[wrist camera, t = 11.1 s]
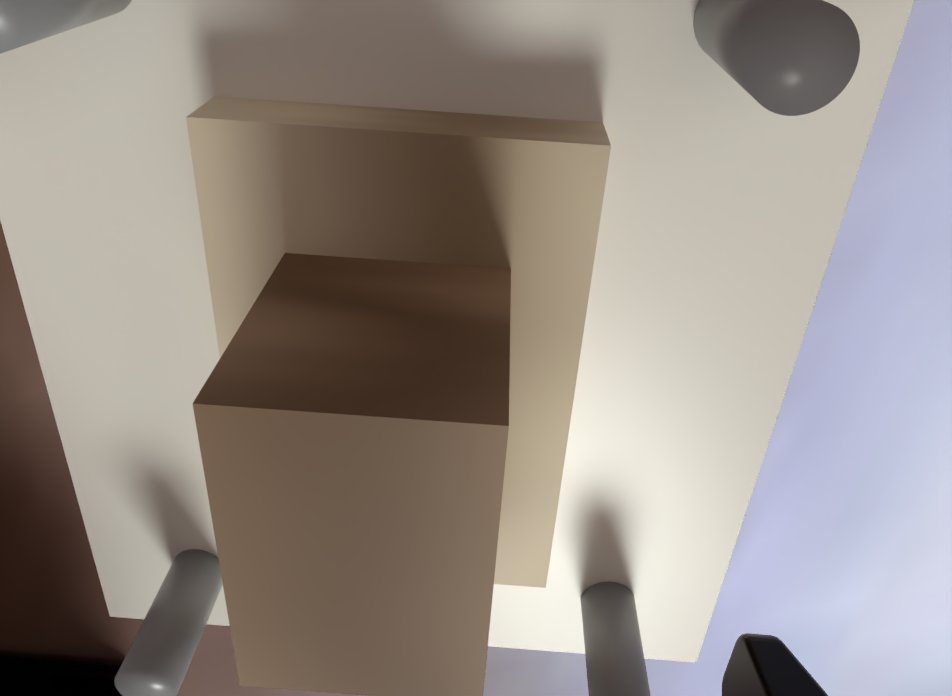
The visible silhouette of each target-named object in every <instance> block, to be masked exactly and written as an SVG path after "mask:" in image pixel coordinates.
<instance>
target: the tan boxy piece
mask: <svg viewBox="0 0 952 696" xmlns="http://www.w3.org/2000/svg"><path fill="white" fill-rule="evenodd" d="M186 120H187V127H188V134H189V141H190V148H191V156H192V163H193V170H194V177H195V184H196V191H197V199H198V206H199V213H200V220H201V227H202V234H203V242H204V249H205V256H206V263H207V270H208V277H209V284H210V292H211V299H212V306H213V313H214V320H215V327H216V335H217V342H218V349H219V356H220V360H219V361H218V363H217V364H216V366H215V368H214V369H213V371H212V373H211V374H210V376H209V377H208V379H207V381H206V382H205V384H204V386H203V387H202V389H201V391H200V392H199V394H198V395H197V397H196V399H195V400H194V402H193V410H194V416H195V422H196V428H197V434H198V440H199V446H200V452H201V458H202V464H203V469H204V475H205V481H206V487H207V493H208V499H209V505H210V511H211V517H212V523H213V529H214V535H215V541H216V547H217V553H218V559H219V565H220V571H221V577H222V583H223V589H224V595H225V601H226V607H227V613H228V619H229V625H230V631H231V637H232V643H233V648H234V654H235V660H236V666H237V672H238V678H239V684H240V686H247V687H260V688H274V689H287V690H301V691H314V692H328V693H341V694H355V695H368V696H483V690H484V679H485V669H486V659H487V648H488V638H489V628H490V617H491V607H492V596H493V586H494V584H499V585H513V586H527V587H541V588H546V583H547V577H548V570H549V563H550V556H551V550H552V543H553V536H554V529H555V522H556V516H557V509H558V502H559V495H560V489H561V482H562V475H563V468H564V462H565V455H566V448H567V441H568V434H569V428H570V421H571V414H572V407H573V401H574V394H575V387H576V380H577V373H578V367H579V360H580V353H581V346H582V340H583V333H584V326H585V319H586V313H587V306H588V299H589V292H590V285H591V279H592V272H593V265H594V258H595V252H596V245H597V238H598V231H599V224H600V218H601V211H602V204H603V197H604V191H605V184H606V177H607V170H608V164H609V157H610V150H611V144H610V141H609V138H608V135H607V133H606V130H605V127H604V124H603V122H589V121H574V120H559V119H544V118H529V117H514V116H499V115H484V114H470V113H455V112H440V111H425V110H410V109H395V108H380V107H365V106H351V105H336V104H321V103H306V102H291V101H276V100H261V99H246V98H232V97H217V96H214V97H213V98H211V99H210V100H209V101H207V102H206V103H205V104H203V105H202V106H201V107H199V108H198V109H196V110H195V111H194V112H192V113H191V114H190V115H188V116H187V117H186Z"/></svg>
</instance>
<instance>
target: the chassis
mask: <svg viewBox="0 0 952 696" xmlns="http://www.w3.org/2000/svg"><path fill="white" fill-rule="evenodd" d="M913 3H914V0H0V221H1V224H2V228H3V232H4V235H5V239H6V242H7V246H8V250H9V253H10V257H11V260H12V264H13V268H14V271H15V275H16V279H17V282H18V286H19V289H20V293H21V297H22V300H23V304H24V308H25V311H26V315H27V318H28V322H29V326H30V329H31V333H32V337H33V340H34V344H35V347H36V351H37V355H38V358H39V362H40V365H41V369H42V373H43V376H44V380H45V384H46V387H47V391H48V394H49V398H50V402H51V405H52V409H53V413H54V416H55V420H56V423H57V427H58V431H59V434H60V438H61V442H62V445H63V449H64V452H65V456H66V460H67V463H68V467H69V470H70V474H71V478H72V481H73V485H74V489H75V492H76V496H77V499H78V503H79V507H80V510H81V514H82V518H83V521H84V525H85V528H86V532H87V536H88V539H89V543H90V547H91V550H92V554H93V557H94V561H95V565H96V568H97V572H98V575H99V579H100V583H101V586H102V590H103V594H104V597H105V601H106V604H107V608H108V612H109V615H110V617H122V618H135V619H144V621H143V623H142V625H141V627H140V629H139V631H138V633H137V635H136V637H135V639H134V641H133V643H132V645H131V647H130V649H129V651H128V653H127V655H126V657H125V659H124V661H123V663H122V665H121V667H120V669H119V671H118V673H117V675H116V677H115V680H114V683H115V687H116V689H117V690H118V691H119V693H120V694H121V695H123V696H177V694H178V691H179V689H180V687H181V684H182V682H183V679H184V677H185V674H186V672H187V670H188V667H189V665H190V662H191V660H192V658H193V655H194V653H195V650H196V648H197V646H198V643H199V641H200V638H201V636H202V633H203V631H204V629H205V626H206V624H211V625H224V626H230V625H229V619H228V613H227V607H226V601H225V595H224V589H223V583H222V577H221V571H220V565H219V559H218V553H217V547H216V541H215V535H214V529H213V523H212V517H211V511H210V505H209V499H208V493H207V487H206V481H205V475H204V469H203V464H202V458H201V452H200V446H199V440H198V434H197V428H196V422H195V416H194V410H193V402H194V400H195V399H196V397H197V395H198V394H199V392H200V391H201V389H202V387H203V386H204V384H205V382H206V381H207V379H208V377H209V376H210V374H211V373H212V371H213V369H214V368H215V366H216V364H217V363H218V361H219V360H220V356H219V349H218V342H217V335H216V327H215V320H214V313H213V306H212V299H211V292H210V284H209V277H208V270H207V263H206V256H205V249H204V242H203V234H202V227H201V220H200V213H199V206H198V199H197V191H196V184H195V177H194V170H193V163H192V156H191V148H190V141H189V134H188V127H187V120H186V117H187V116H188V115H190V114H191V113H192V112H194V111H195V110H196V109H198V108H199V107H201V106H202V105H203V104H205V103H206V102H207V101H209V100H210V99H211V98H213V97H214V96H217V97H232V98H246V99H261V100H276V101H291V102H306V103H321V104H336V105H351V106H365V107H380V108H395V109H410V110H425V111H440V112H455V113H470V114H484V115H499V116H514V117H529V118H544V119H559V120H574V121H589V122H603V124H604V127H605V130H606V133H607V135H608V138H609V141H610V144H611V150H610V157H609V164H608V170H607V177H606V184H605V191H604V197H603V204H602V211H601V218H600V224H599V231H598V238H597V245H596V252H595V258H594V265H593V272H592V279H591V285H590V292H589V299H588V306H587V313H586V319H585V326H584V333H583V340H582V346H581V353H580V360H579V367H578V373H577V380H576V387H575V394H574V401H573V407H572V414H571V421H570V428H569V434H568V441H567V448H566V455H565V462H564V468H563V475H562V482H561V489H560V495H559V502H558V509H557V516H556V522H555V529H554V536H553V543H552V550H551V556H550V563H549V570H548V577H547V583H546V588H541V587H527V586H513V585H499V584H494V586H493V596H492V607H491V617H490V628H489V638H488V646H492V647H505V648H518V649H530V650H543V651H556V652H569V653H581V654H585V656H586V667H587V679H588V690H589V696H650V690H649V684H648V678H647V672H646V666H645V660H644V658H645V659H658V660H671V661H683V662H697V659H698V656H699V653H700V650H701V647H702V644H703V641H704V638H705V635H706V632H707V629H708V626H709V622H710V619H711V616H712V613H713V610H714V607H715V604H716V601H717V598H718V595H719V592H720V589H721V586H722V583H723V580H724V577H725V574H726V571H727V568H728V565H729V562H730V559H731V556H732V553H733V550H734V547H735V544H736V541H737V537H738V534H739V531H740V528H741V525H742V522H743V519H744V516H745V513H746V510H747V507H748V504H749V501H750V498H751V495H752V492H753V489H754V486H755V483H756V480H757V477H758V474H759V471H760V468H761V465H762V462H763V459H764V456H765V452H766V449H767V446H768V443H769V440H770V437H771V434H772V431H773V428H774V425H775V422H776V419H777V416H778V413H779V410H780V407H781V404H782V401H783V398H784V395H785V392H786V389H787V386H788V383H789V380H790V377H791V374H792V371H793V368H794V364H795V361H796V358H797V355H798V352H799V349H800V346H801V343H802V340H803V337H804V334H805V331H806V328H807V325H808V322H809V319H810V316H811V313H812V310H813V307H814V304H815V301H816V298H817V295H818V292H819V289H820V286H821V283H822V279H823V276H824V273H825V270H826V267H827V264H828V261H829V258H830V255H831V252H832V249H833V246H834V243H835V240H836V237H837V234H838V231H839V228H840V225H841V222H842V219H843V216H844V213H845V210H846V207H847V204H848V201H849V198H850V194H851V191H852V188H853V185H854V182H855V179H856V176H857V173H858V170H859V167H860V164H861V161H862V158H863V155H864V152H865V149H866V146H867V143H868V140H869V137H870V134H871V131H872V128H873V125H874V122H875V119H876V116H877V113H878V109H879V106H880V103H881V100H882V97H883V94H884V91H885V88H886V85H887V82H888V79H889V76H890V73H891V70H892V67H893V64H894V61H895V58H896V55H897V52H898V49H899V46H900V43H901V40H902V37H903V34H904V31H905V28H906V24H907V21H908V18H909V15H910V12H911V9H912V6H913Z"/></svg>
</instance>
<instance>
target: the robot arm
mask: <svg viewBox="0 0 952 696" xmlns="http://www.w3.org/2000/svg"><path fill="white" fill-rule="evenodd" d="M119 669H120V667H118V666H113V665H102V664H90V663H77V662H64V661H52V660H39V659H26V658H14V657H1V656H0V696H123V695H121V694H120V693H119V691H118V690H117V689H116V687H115V683H114V680H115V677H116V675H117V673H118V671H119ZM722 696H828V695H827V694H826V692H825V691H824V690H823V689H822V688H821V687H820V685H819V684H818V683H817V682H816V681H815V680H814V678H813V677H812V676H811V675H810V674H809V672H808V671H807V670H806V669H805V668H804V667H803V665H802V664H801V663H800V662H799V661H798V660H797V658H796V657H795V656H794V655H793V654H792V653H791V651H790V650H789V649H788V648H787V647H786V645H785V644H784V643H783V642H782V641H781V640H779V639H778V638H777V637H775V636H771V635H760V634H748V633H746V634H742V635H741V636H739V637H738V639H737V641H736V644H735V646H734V649H733V652H732V654H731V657H730V660H729V663H728V665H727V668H726V671H725V674H724V677H723V682H722Z"/></svg>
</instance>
